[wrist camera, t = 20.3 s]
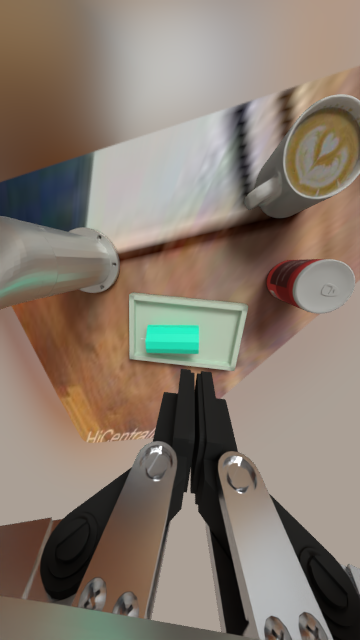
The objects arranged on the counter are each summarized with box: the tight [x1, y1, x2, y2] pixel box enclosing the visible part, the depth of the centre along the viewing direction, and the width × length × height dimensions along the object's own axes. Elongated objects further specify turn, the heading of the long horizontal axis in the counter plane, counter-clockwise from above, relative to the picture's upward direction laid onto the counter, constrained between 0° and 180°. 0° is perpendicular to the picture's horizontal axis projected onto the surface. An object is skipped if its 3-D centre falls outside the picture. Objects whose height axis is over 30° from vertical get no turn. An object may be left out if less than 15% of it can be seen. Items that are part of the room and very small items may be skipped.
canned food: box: [267, 259, 355, 314], centre depth 30 cm, size 8×8×11 cm
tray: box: [129, 292, 248, 371], centre depth 39 cm, size 24×15×2 cm, turn 85°
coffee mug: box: [245, 94, 360, 218], centre depth 26 cm, size 13×10×10 cm
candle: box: [141, 325, 199, 354], centre depth 37 cm, size 6×6×12 cm
